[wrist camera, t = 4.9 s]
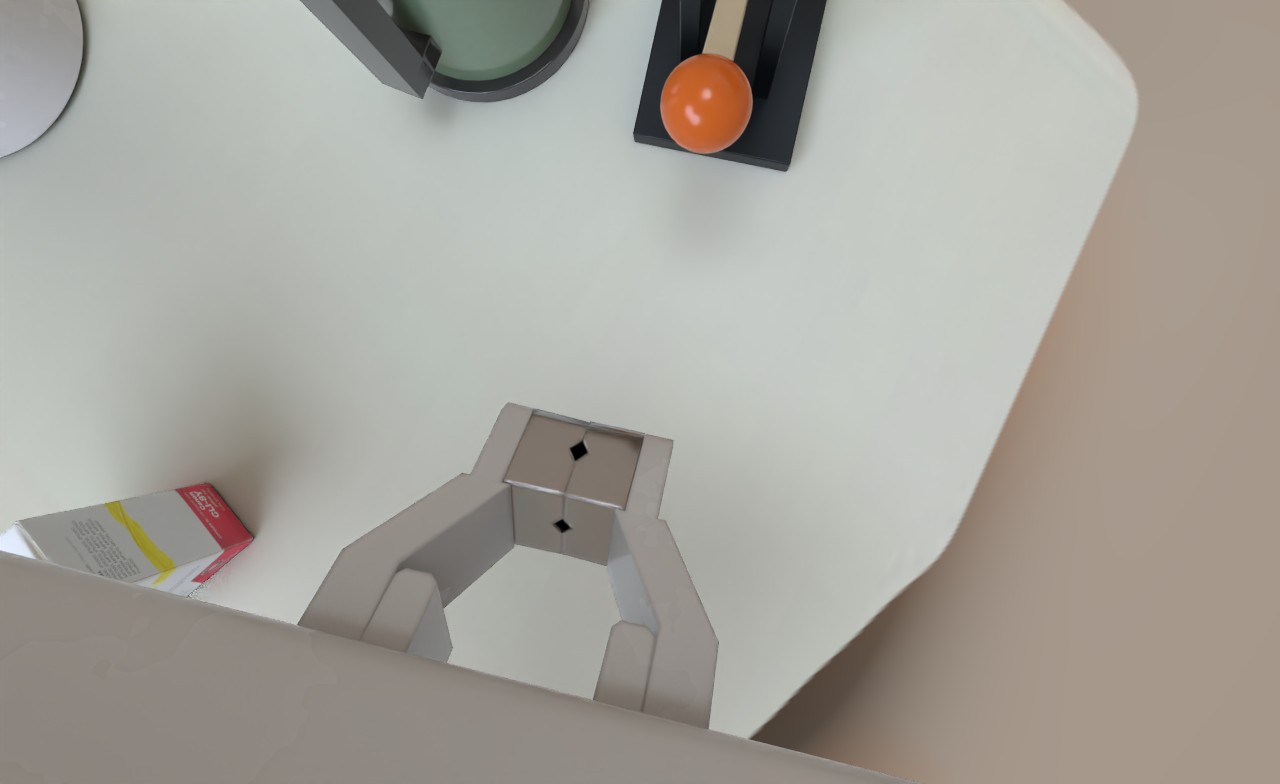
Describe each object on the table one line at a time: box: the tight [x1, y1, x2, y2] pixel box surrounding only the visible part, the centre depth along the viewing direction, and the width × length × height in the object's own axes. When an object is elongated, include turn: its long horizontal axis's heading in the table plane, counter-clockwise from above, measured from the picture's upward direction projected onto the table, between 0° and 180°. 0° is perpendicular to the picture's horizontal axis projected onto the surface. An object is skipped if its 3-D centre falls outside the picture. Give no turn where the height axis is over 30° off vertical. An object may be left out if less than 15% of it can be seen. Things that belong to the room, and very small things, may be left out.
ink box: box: [0, 483, 253, 597], centre depth 34 cm, size 9×5×12 cm, turn 128°
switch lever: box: [660, 0, 753, 154], centre depth 25 cm, size 13×3×3 cm, turn 167°
